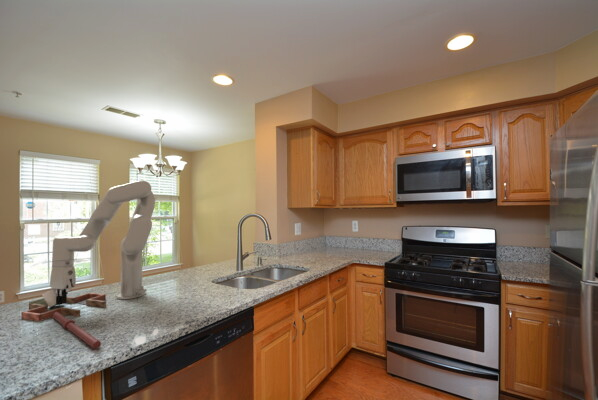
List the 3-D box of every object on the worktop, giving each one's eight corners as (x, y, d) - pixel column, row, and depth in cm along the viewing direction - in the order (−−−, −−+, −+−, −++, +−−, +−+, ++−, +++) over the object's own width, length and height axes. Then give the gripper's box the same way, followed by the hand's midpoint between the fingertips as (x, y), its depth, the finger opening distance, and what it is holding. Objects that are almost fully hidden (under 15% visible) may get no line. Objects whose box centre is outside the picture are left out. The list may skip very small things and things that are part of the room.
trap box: (121, 301, 129) (121, 294, 129) (56, 324, 103) (56, 315, 103) (76, 296, 138) (76, 289, 138) (6, 315, 113) (6, 307, 113)
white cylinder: (70, 298, 125) (64, 285, 126) (54, 304, 119) (48, 290, 119) (60, 304, 127) (54, 291, 127) (43, 310, 120) (37, 296, 120)
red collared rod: (50, 320, 108) (51, 312, 108) (60, 317, 111) (61, 309, 111) (90, 352, 82) (91, 342, 82) (102, 348, 85) (103, 338, 85)
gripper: (83, 262, 123) (81, 302, 122) (60, 261, 128) (59, 299, 127) (65, 265, 116) (63, 308, 115) (42, 264, 120) (40, 305, 119)
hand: (61, 303), depth 121 cm, fingers closed
